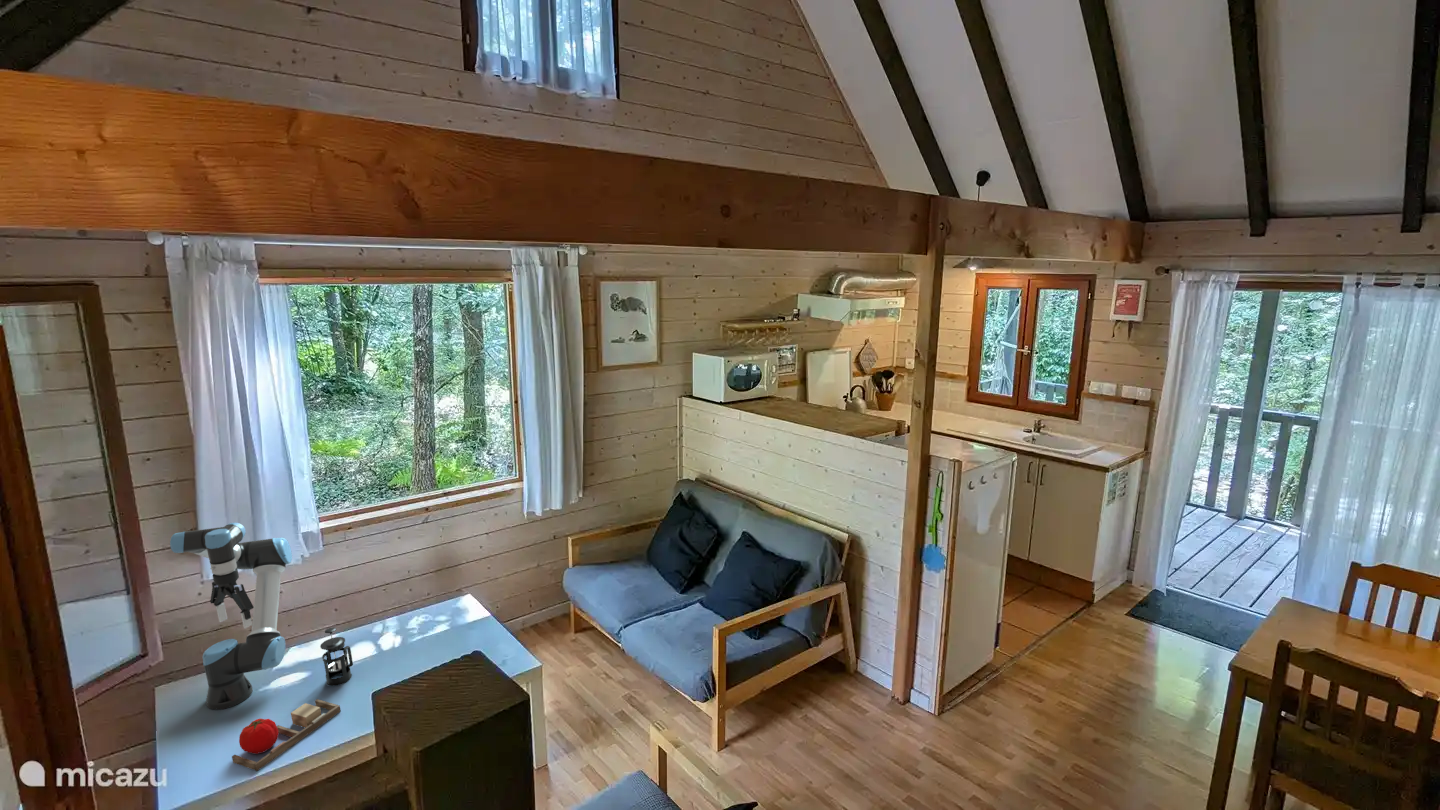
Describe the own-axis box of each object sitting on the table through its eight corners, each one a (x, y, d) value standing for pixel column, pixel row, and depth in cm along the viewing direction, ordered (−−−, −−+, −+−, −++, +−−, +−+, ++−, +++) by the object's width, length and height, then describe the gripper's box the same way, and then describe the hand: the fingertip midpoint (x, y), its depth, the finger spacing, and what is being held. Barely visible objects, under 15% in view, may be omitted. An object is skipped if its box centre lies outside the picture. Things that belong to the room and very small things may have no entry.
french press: (334, 689, 277) (325, 638, 272) (319, 684, 281) (310, 633, 276) (360, 673, 287) (352, 623, 282) (345, 668, 291) (337, 619, 286)
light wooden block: (292, 724, 257) (290, 712, 255) (307, 714, 262) (305, 703, 261) (308, 729, 254) (305, 717, 253) (322, 719, 259) (320, 707, 258)
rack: (233, 762, 237) (231, 754, 237) (318, 704, 267) (316, 697, 267) (257, 771, 233) (255, 763, 232) (340, 711, 263) (339, 704, 262)
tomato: (284, 748, 243) (278, 721, 241) (246, 765, 236) (239, 737, 233) (276, 733, 252) (270, 706, 249) (239, 749, 244) (233, 721, 242)
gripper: (191, 570, 251) (203, 623, 255) (237, 580, 242) (248, 634, 246) (212, 562, 258) (223, 613, 262) (258, 571, 249) (268, 623, 253)
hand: (235, 623), depth 254 cm, fingers open, 13 cm apart
